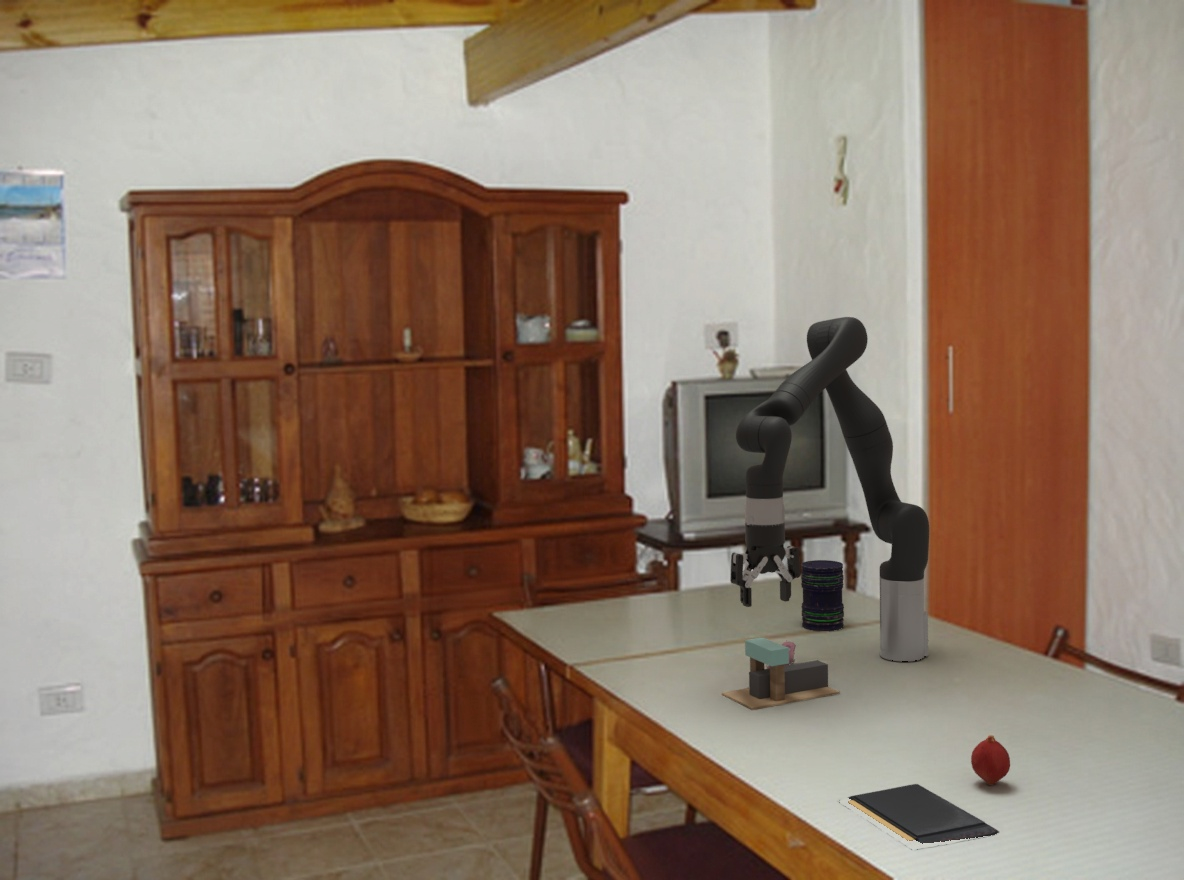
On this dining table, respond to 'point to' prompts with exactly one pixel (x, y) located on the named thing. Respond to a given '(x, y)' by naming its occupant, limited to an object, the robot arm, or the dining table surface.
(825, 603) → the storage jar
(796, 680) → the bar
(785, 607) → the dining table surface
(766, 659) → the block
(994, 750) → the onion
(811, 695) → the board
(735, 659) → the dining table surface
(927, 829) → the black book
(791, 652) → the video game controller
